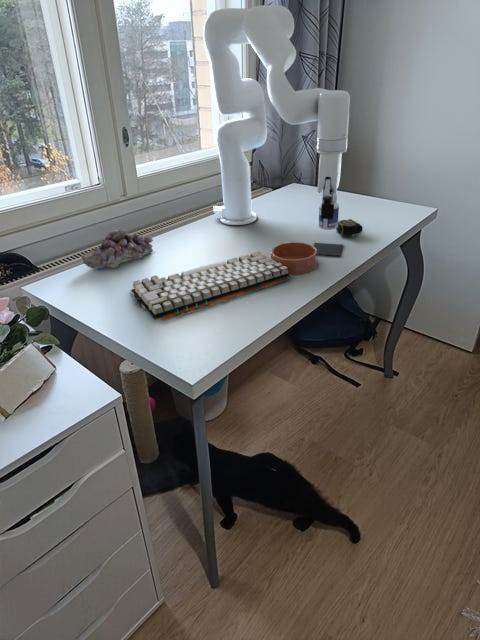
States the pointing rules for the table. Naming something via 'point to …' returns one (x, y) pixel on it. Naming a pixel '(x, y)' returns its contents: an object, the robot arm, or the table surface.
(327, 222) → the pill bottle
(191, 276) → the mechanical keyboard
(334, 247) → the coaster
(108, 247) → the mineral specimen
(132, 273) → the table surface
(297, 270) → the bowl
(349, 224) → the tape measure
